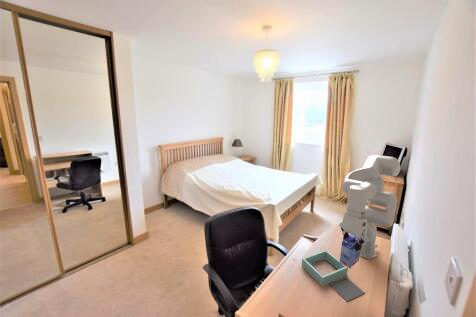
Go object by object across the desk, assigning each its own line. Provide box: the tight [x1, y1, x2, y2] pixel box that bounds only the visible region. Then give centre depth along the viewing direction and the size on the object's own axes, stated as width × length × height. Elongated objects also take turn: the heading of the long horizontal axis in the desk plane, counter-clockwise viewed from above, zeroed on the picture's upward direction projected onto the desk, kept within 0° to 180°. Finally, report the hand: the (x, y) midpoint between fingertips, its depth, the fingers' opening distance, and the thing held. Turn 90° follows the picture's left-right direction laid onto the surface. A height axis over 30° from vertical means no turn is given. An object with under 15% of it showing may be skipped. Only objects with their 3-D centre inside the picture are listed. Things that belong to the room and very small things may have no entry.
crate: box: [301, 249, 349, 286], centre depth 119 cm, size 18×16×5 cm
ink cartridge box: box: [339, 234, 361, 269], centre depth 102 cm, size 10×6×14 cm, turn 127°
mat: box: [328, 276, 366, 303], centre depth 107 cm, size 12×11×1 cm
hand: (351, 245), depth 102 cm, fingers closed on ink cartridge box, 6 cm apart
